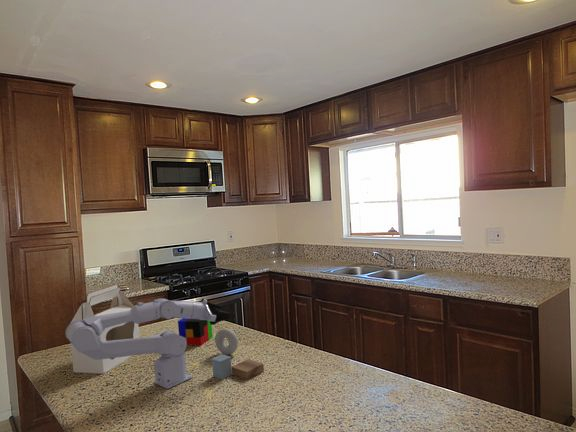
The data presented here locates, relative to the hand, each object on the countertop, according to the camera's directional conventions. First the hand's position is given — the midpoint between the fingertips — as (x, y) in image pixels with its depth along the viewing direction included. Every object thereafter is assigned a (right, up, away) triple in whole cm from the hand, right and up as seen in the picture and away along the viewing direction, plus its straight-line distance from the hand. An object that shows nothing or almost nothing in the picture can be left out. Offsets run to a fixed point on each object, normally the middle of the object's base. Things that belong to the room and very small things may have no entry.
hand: (224, 312), depth 145 cm
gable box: (-46, -21, +10) cm, 52 cm away
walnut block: (+9, -18, -10) cm, 23 cm away
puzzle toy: (-16, -18, +26) cm, 35 cm away
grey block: (+1, -18, -11) cm, 21 cm away
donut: (0, -18, +7) cm, 19 cm away
